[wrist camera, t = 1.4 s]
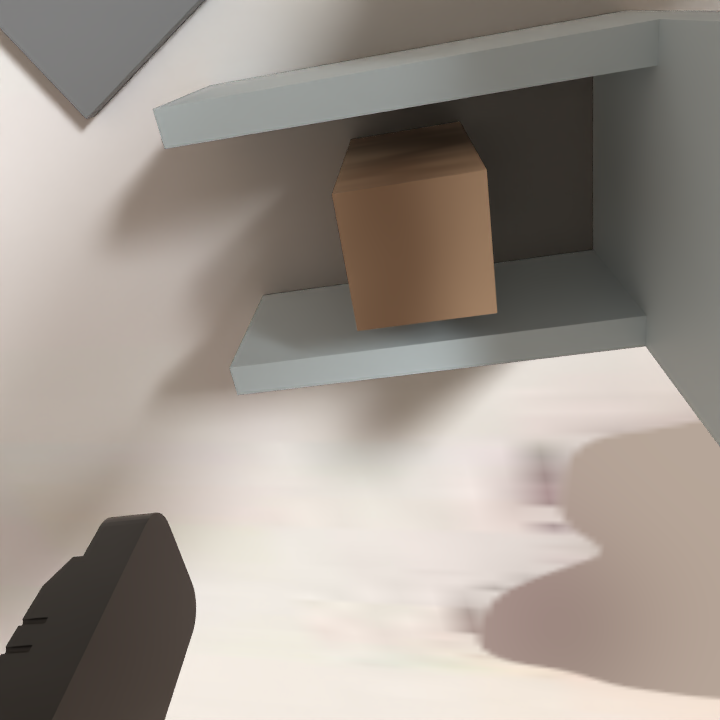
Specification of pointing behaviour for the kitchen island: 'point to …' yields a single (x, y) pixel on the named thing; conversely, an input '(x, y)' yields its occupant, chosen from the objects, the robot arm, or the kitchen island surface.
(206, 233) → the kitchen island surface
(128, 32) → the slate pad
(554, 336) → the shelf bay
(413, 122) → the kitchen island surface
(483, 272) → the walnut block
